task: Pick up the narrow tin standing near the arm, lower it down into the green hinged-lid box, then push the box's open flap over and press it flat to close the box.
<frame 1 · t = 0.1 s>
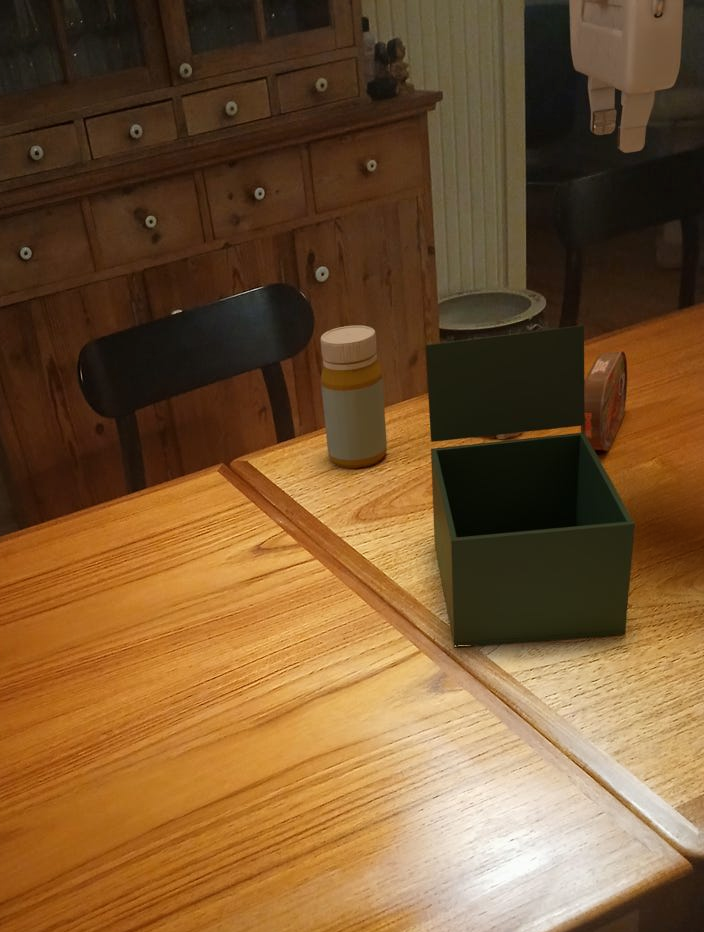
hand: (615, 141, 82), 34 cm above the table, tool pointing down, fingers open, 8 cm apart
flap: (505, 385, 90), point 15 cm above the table, hinge at 105.0°
bottle: (358, 458, 119), on the table
green hinged-lid box: (521, 585, 91), on the table
jagged grey brown block: (503, 422, 121), on the table
tin: (601, 436, 114), on the table
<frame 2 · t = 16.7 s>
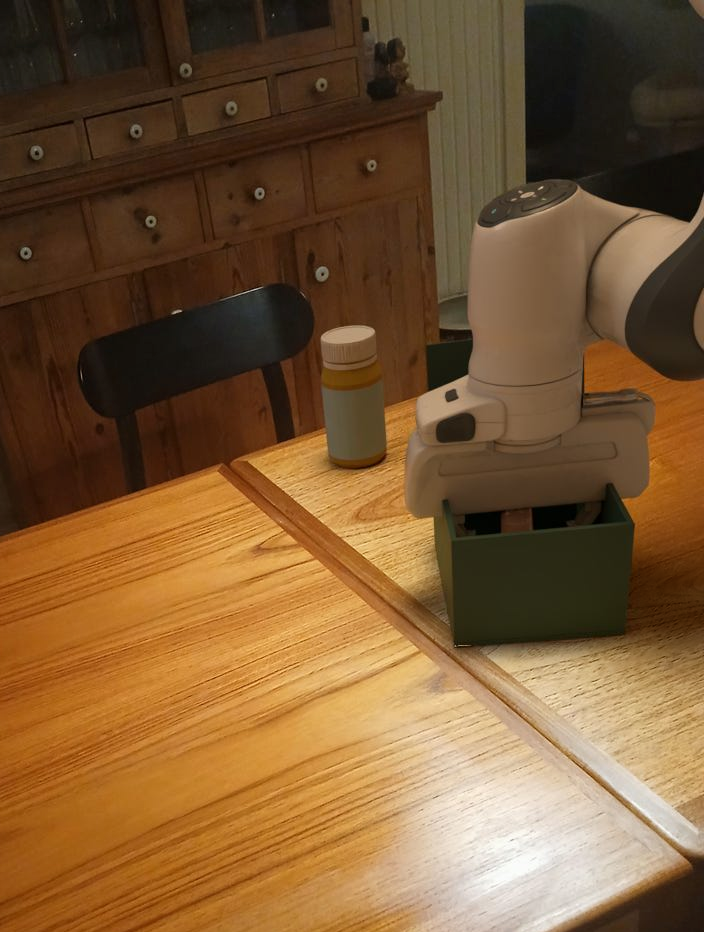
hand: (521, 547, 88), 4 cm above the table, tool pointing down, fingers open, 8 cm apart
tin: (518, 583, 90), resting on green hinged-lid box
everything else where it was.
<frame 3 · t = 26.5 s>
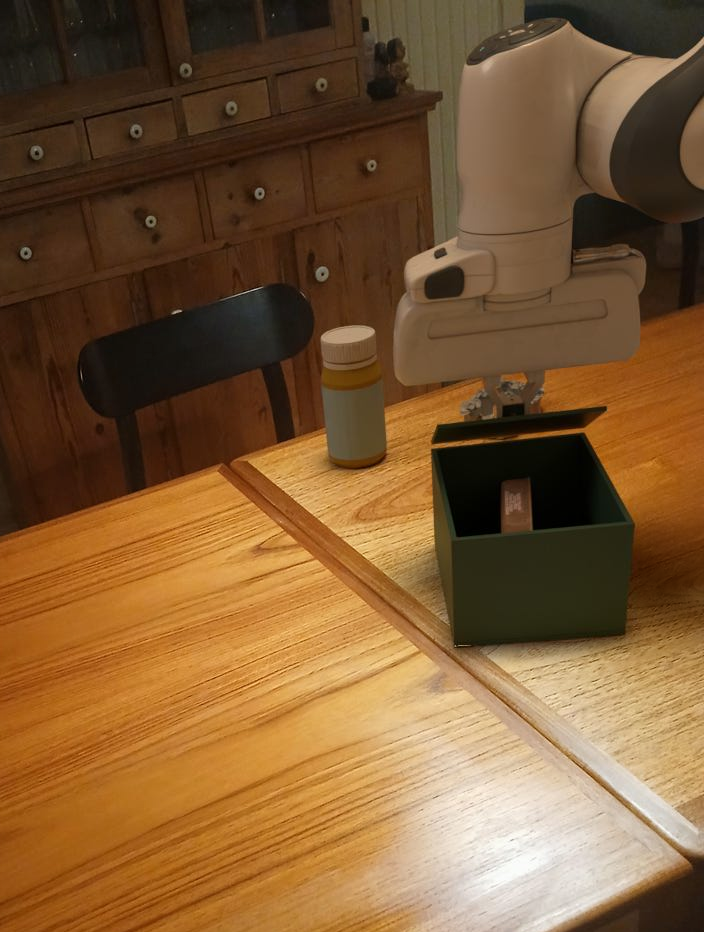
hand: (511, 418, 87), 14 cm above the table, tool pointing down, fingers closed
flap: (513, 426, 87), point 13 cm above the table, hinge at 32.0°, touching gripper
everything else where it was.
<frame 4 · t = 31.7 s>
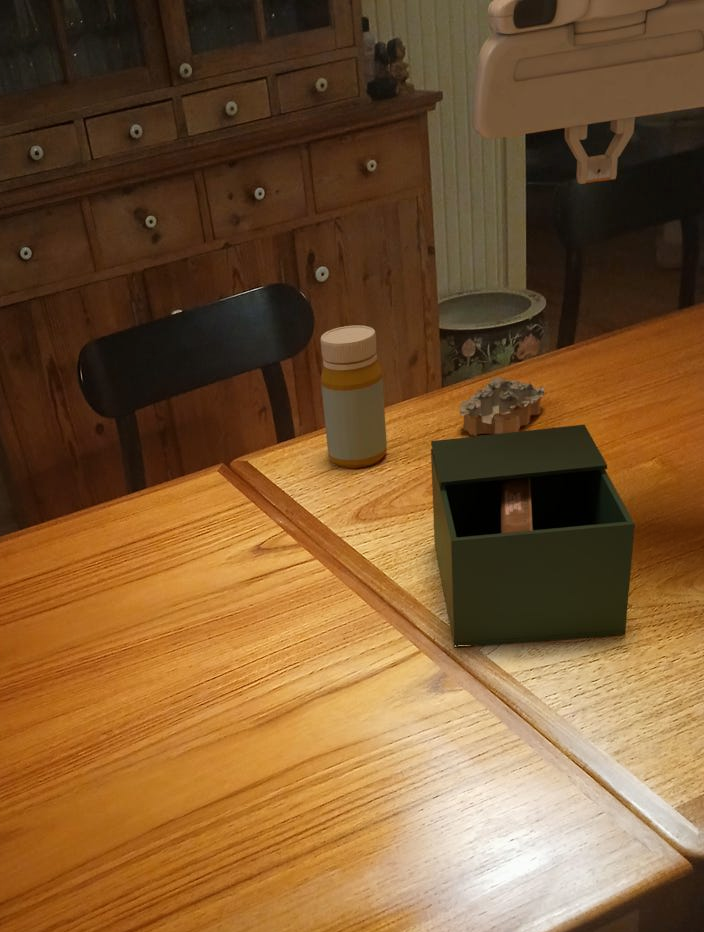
hand: (596, 180, 83), 31 cm above the table, tool pointing down, fingers closed
flap: (514, 454, 88), point 11 cm above the table, hinge at 0.0°
everything else where it was.
at the end: tin inside the target area in the green hinged-lid box (0.2 cm from its centre), point 0.3 cm above the green hinged-lid box's base; flap at +0° (first picture: +105°) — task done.
